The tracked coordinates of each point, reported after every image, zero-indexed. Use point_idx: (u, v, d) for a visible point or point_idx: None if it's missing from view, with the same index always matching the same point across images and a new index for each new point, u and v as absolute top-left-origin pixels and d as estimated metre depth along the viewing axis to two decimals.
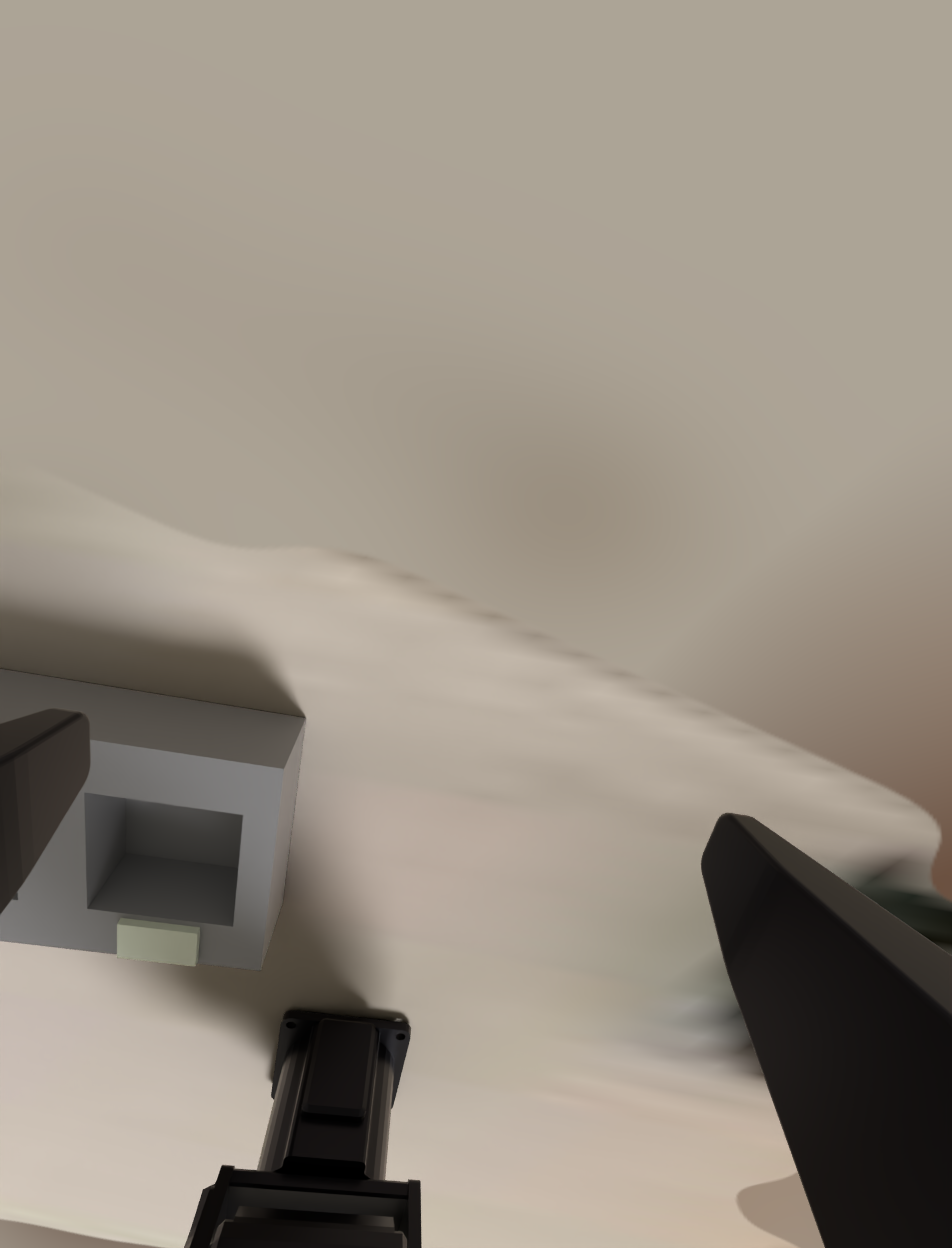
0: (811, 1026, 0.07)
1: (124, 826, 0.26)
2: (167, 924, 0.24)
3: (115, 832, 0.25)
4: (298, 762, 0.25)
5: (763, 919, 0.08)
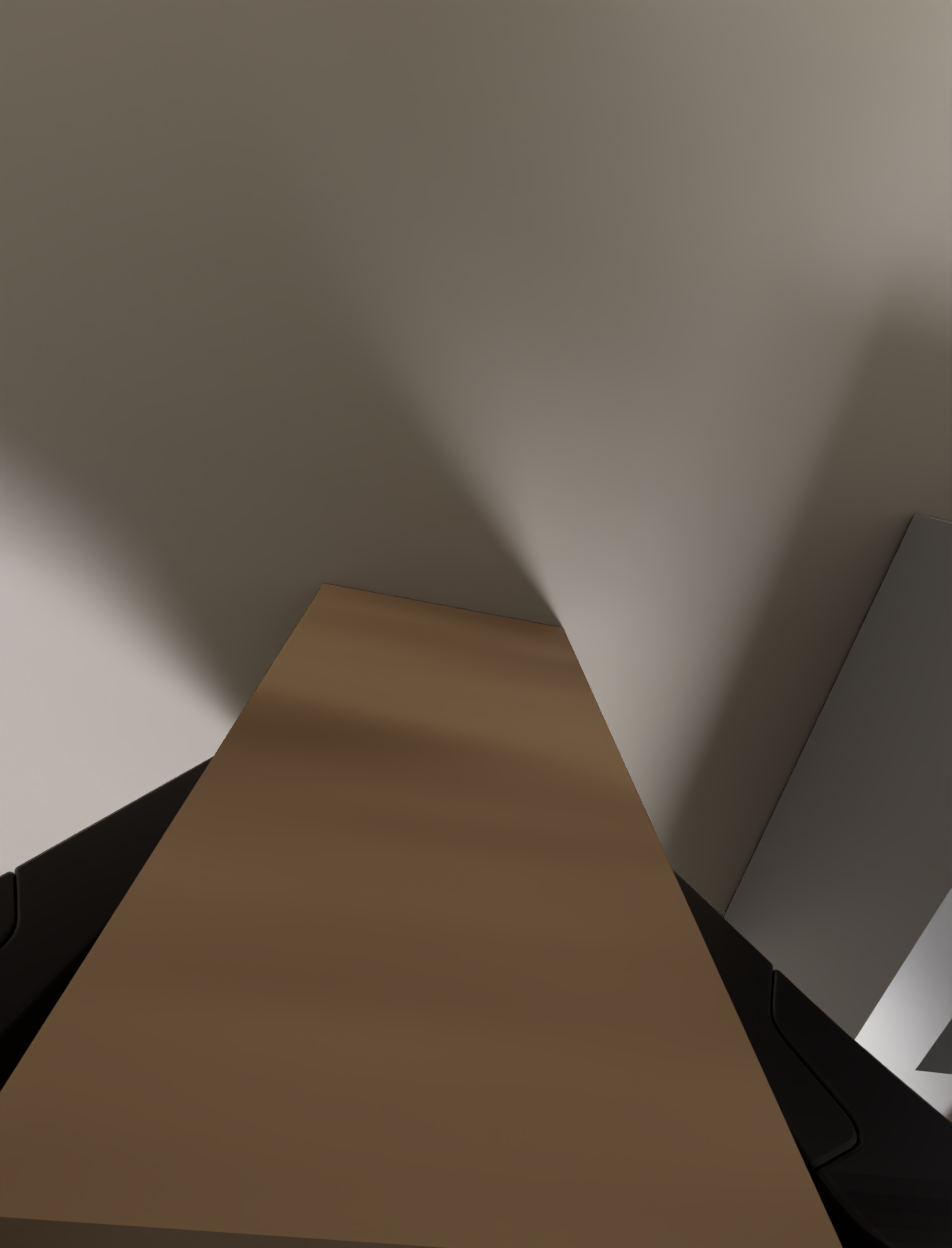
0: None
1: None
2: None
3: None
4: None
5: None
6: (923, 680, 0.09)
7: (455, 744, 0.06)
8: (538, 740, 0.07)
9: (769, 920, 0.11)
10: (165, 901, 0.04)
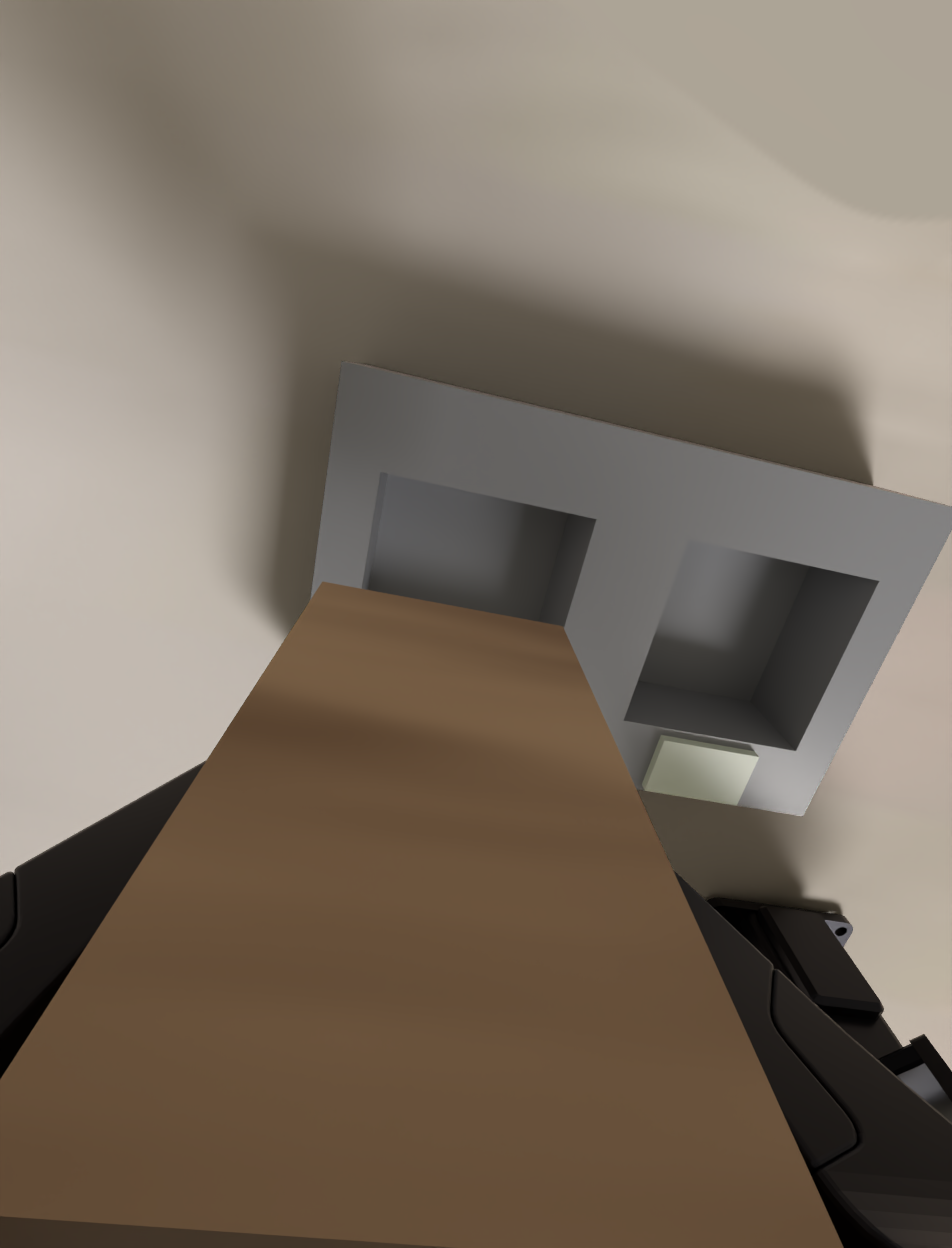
0: None
1: None
2: (715, 746, 0.18)
3: None
4: None
5: None
6: None
7: (455, 742, 0.06)
8: (537, 738, 0.07)
9: None
10: (161, 898, 0.04)
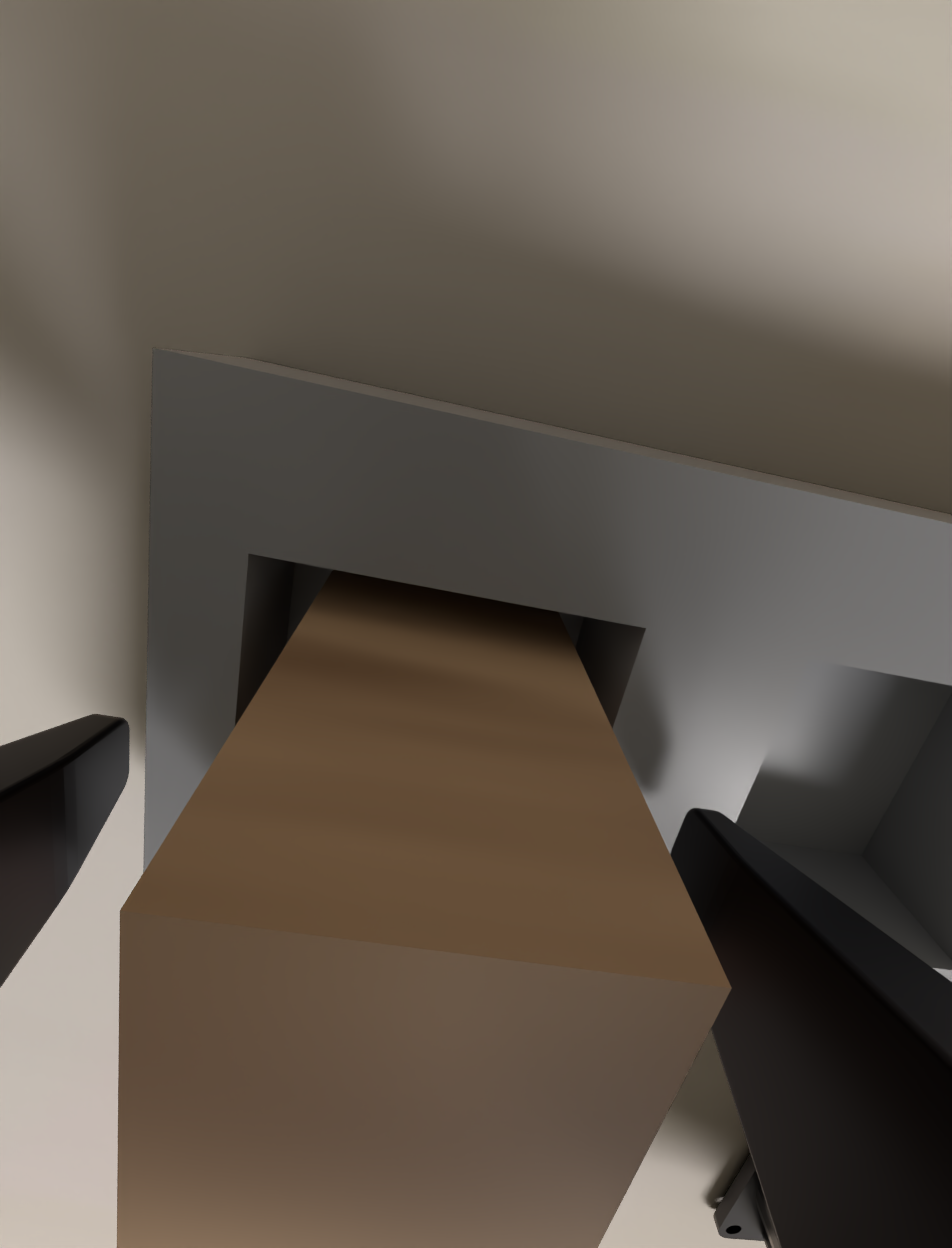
0: (769, 1021, 0.07)
1: None
2: None
3: None
4: None
5: (726, 914, 0.08)
6: None
7: (458, 679, 0.08)
8: (527, 679, 0.08)
9: None
10: (243, 765, 0.05)
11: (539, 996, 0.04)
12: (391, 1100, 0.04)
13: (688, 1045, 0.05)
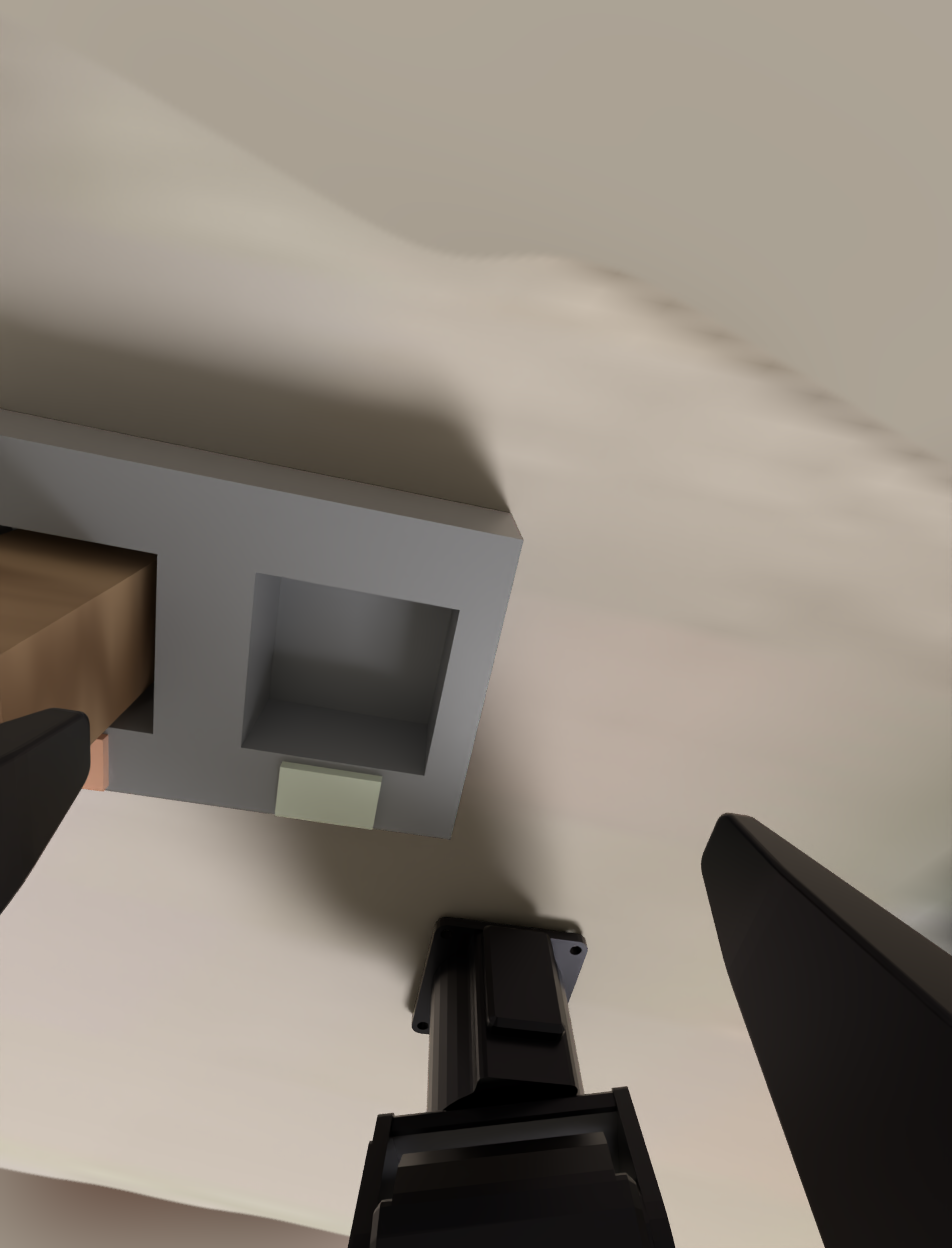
0: (811, 1026, 0.07)
1: (271, 660, 0.20)
2: (340, 771, 0.19)
3: (266, 660, 0.19)
4: None
5: (763, 919, 0.08)
6: None
7: (27, 574, 0.15)
8: (75, 578, 0.15)
9: None
10: None
11: None
12: None
13: (3, 688, 0.12)
